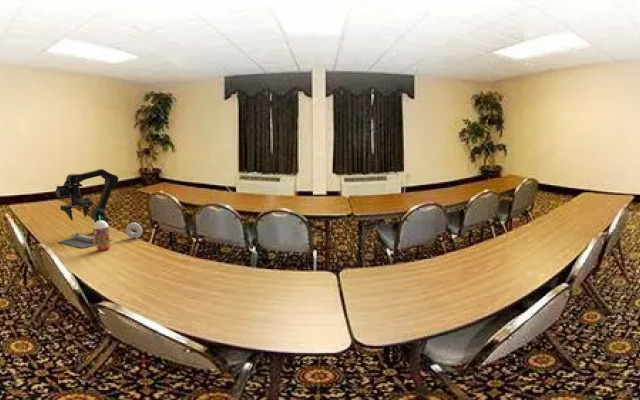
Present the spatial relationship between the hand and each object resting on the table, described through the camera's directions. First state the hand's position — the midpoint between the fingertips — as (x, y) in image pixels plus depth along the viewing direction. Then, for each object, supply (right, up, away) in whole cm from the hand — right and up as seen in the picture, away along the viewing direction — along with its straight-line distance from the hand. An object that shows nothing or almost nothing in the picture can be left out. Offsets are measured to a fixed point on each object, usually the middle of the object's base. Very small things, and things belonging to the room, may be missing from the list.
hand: (78, 218), depth 306 cm
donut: (+38, -12, -7) cm, 41 cm away
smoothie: (+29, -17, -29) cm, 44 cm away
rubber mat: (+9, -14, -11) cm, 20 cm away
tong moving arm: (+10, -13, -12) cm, 20 cm away
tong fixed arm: (+9, -13, -9) cm, 18 cm away
